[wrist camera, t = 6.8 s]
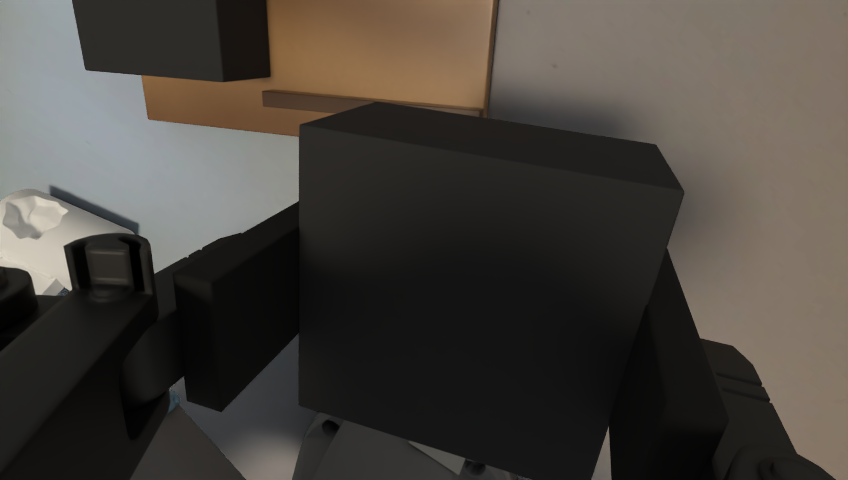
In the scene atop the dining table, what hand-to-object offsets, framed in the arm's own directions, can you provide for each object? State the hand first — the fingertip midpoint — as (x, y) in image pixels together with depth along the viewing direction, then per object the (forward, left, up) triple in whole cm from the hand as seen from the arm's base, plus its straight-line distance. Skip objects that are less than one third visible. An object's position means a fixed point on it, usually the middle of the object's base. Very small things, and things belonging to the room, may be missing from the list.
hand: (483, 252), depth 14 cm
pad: (+7, +18, -12) cm, 23 cm away
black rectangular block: (0, 0, 0) cm, 0 cm away
